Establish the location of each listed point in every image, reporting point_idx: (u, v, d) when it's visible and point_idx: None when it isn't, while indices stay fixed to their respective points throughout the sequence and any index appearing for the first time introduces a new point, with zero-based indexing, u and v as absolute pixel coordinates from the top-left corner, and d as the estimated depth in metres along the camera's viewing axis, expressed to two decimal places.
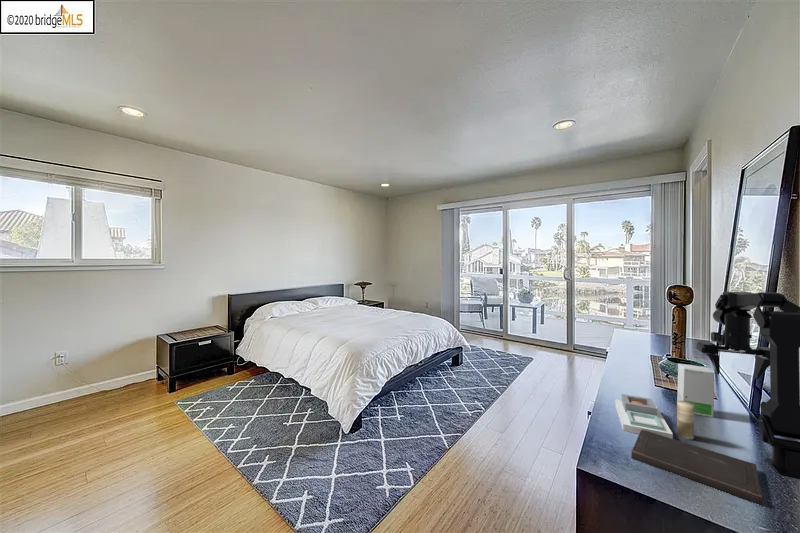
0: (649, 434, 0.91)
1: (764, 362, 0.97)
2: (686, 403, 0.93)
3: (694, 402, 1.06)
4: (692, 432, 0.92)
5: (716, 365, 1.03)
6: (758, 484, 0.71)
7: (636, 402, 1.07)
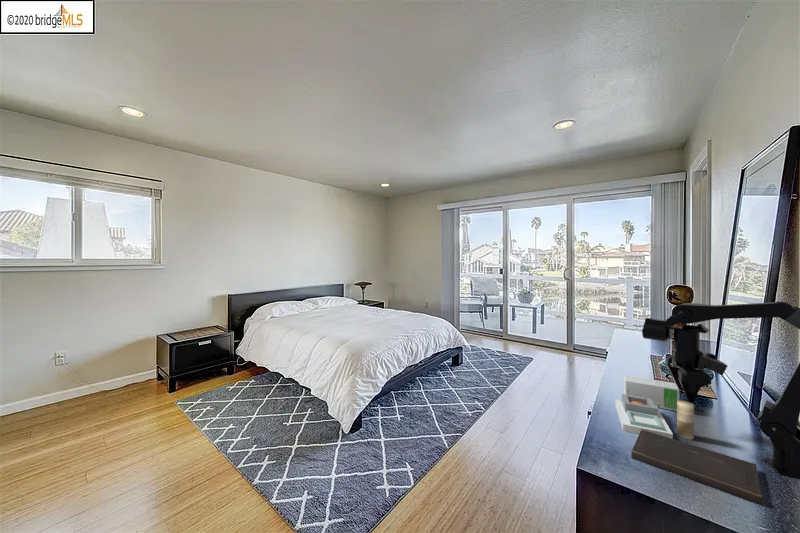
0: (649, 434, 0.91)
1: (679, 380, 0.90)
2: (686, 403, 0.93)
3: (664, 400, 1.10)
4: (692, 432, 0.92)
5: None
6: (758, 484, 0.71)
7: (636, 402, 1.07)
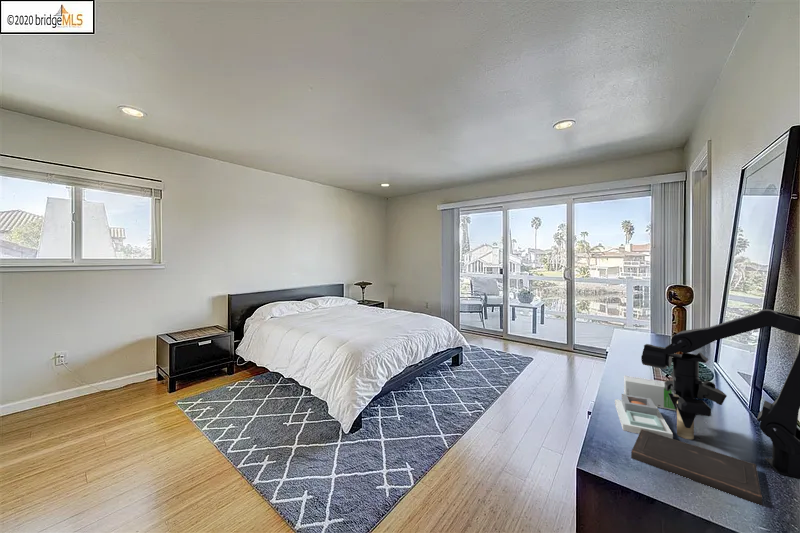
0: (649, 434, 0.92)
1: (676, 406, 0.92)
2: None
3: (664, 400, 1.10)
4: (692, 432, 0.92)
5: (675, 408, 0.97)
6: (758, 484, 0.71)
7: (636, 402, 1.07)
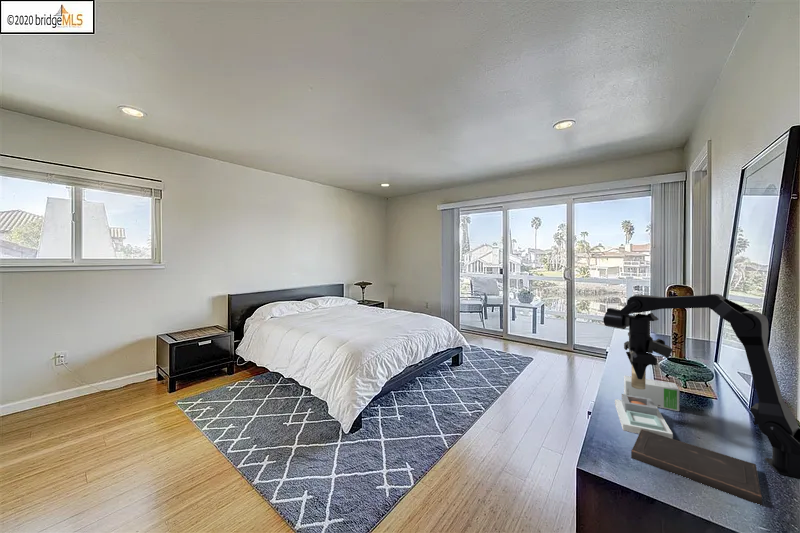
0: (649, 434, 0.92)
1: (630, 360, 1.05)
2: None
3: (664, 400, 1.10)
4: (643, 383, 1.04)
5: (631, 364, 1.09)
6: (758, 484, 0.71)
7: (636, 402, 1.07)
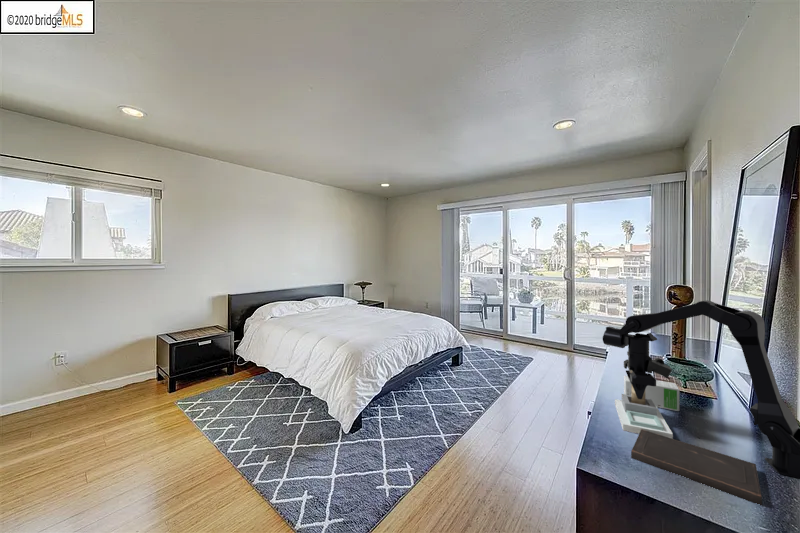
0: (649, 434, 0.92)
1: (630, 379, 1.05)
2: None
3: (664, 400, 1.10)
4: (643, 402, 1.04)
5: None
6: (758, 484, 0.71)
7: None
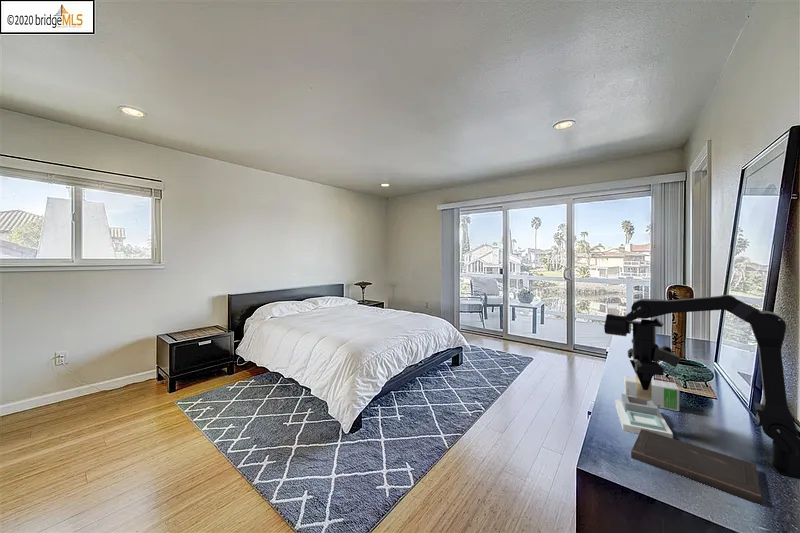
0: (649, 434, 0.92)
1: (634, 369, 0.97)
2: None
3: (664, 400, 1.10)
4: (649, 393, 0.97)
5: None
6: (757, 484, 0.71)
7: None
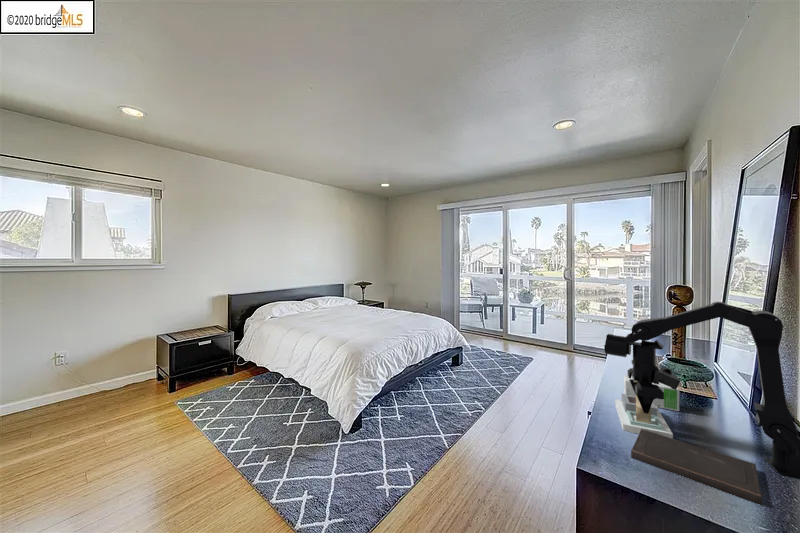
0: (649, 434, 0.92)
1: None
2: None
3: (664, 400, 1.10)
4: (649, 417, 0.96)
5: (635, 393, 1.02)
6: (757, 483, 0.71)
7: None
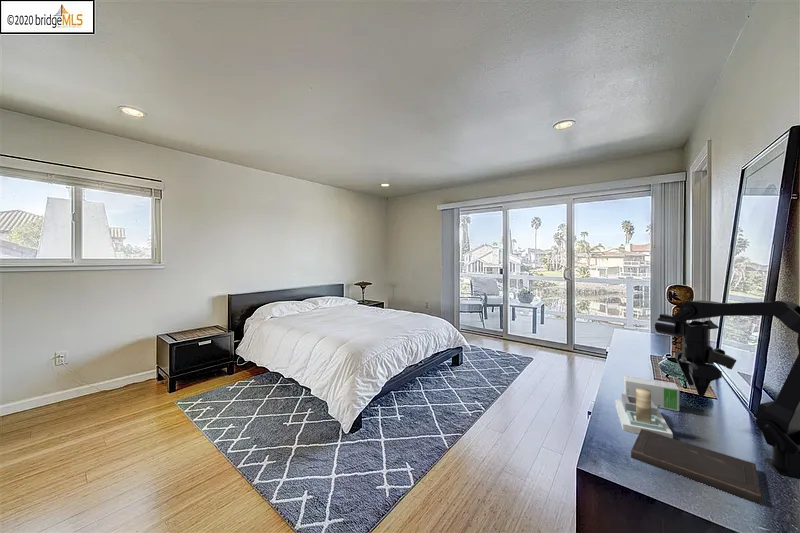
0: (649, 434, 0.92)
1: (690, 374, 0.93)
2: (644, 390, 0.98)
3: (664, 400, 1.10)
4: (649, 417, 0.96)
5: (683, 373, 1.02)
6: (757, 483, 0.71)
7: None
